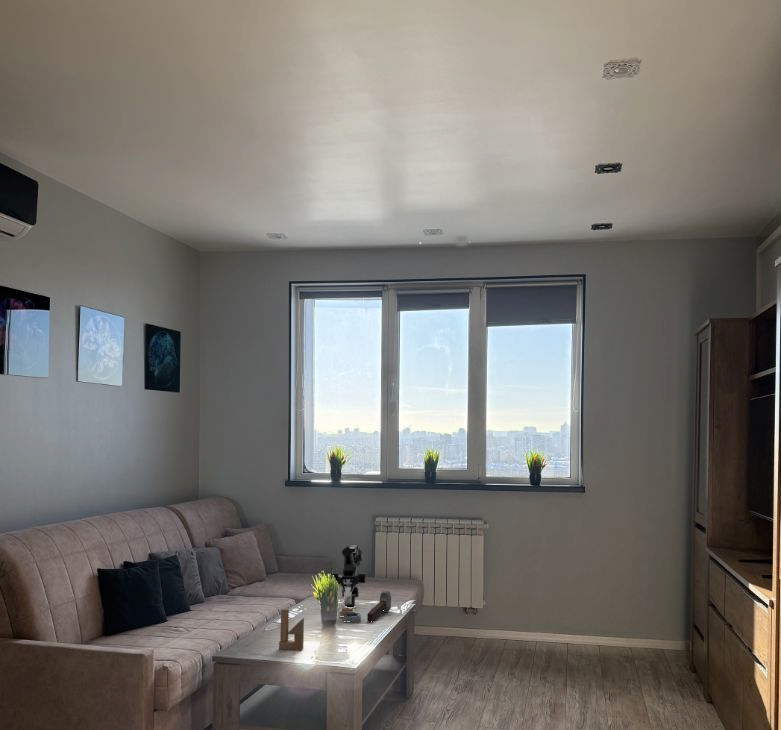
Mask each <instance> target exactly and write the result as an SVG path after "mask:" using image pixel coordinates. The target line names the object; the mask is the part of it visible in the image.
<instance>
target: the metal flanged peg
mask: <svg viewBox="0 0 781 730" xmlns="http://www.w3.org/2000/svg"><path fill="white" fill-rule="evenodd" d="M351 599H352V587H351V586H350V579H346V586H345V587H344V597H343V604H344V605H345V604H346V605H349V604H351Z"/></svg>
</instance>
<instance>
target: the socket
mask: <svg viewBox="0 0 781 730" xmlns="http://www.w3.org/2000/svg"><path fill="white" fill-rule="evenodd" d="M344 621H350V622H349V623H362V612H355V613H344V618H343V622H344Z"/></svg>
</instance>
